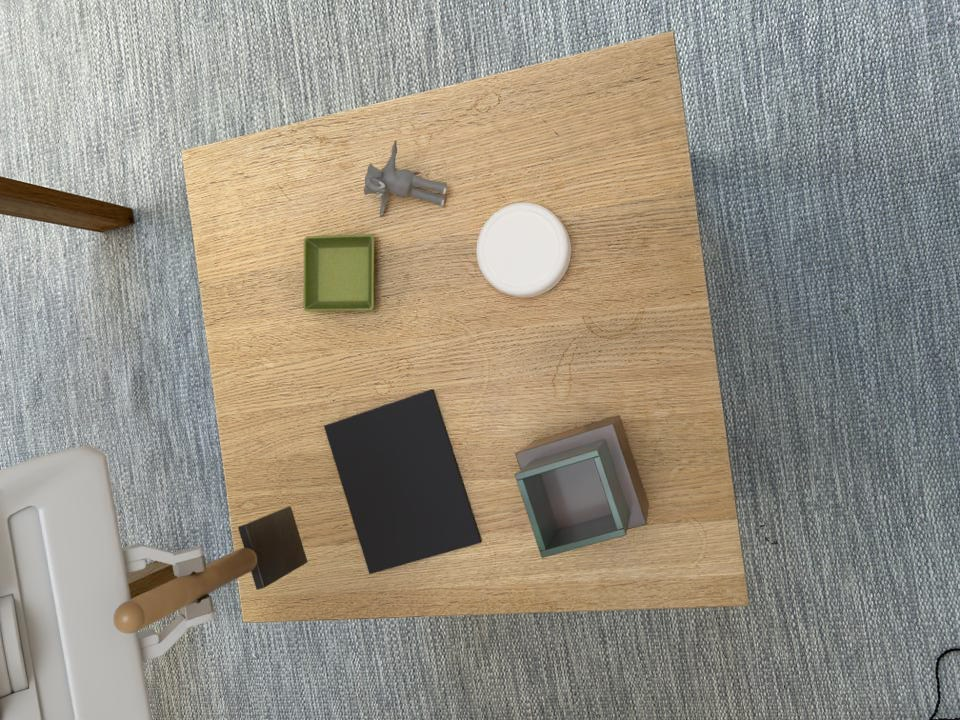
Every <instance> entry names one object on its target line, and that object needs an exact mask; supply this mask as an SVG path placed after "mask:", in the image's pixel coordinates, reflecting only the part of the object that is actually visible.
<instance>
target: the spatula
mask: <svg viewBox="0 0 960 720" xmlns="http://www.w3.org/2000/svg"><path fill="white" fill-rule="evenodd" d="M237 529H238V533H239V536H240V539H241V543H242V545H243V547H241V548H239V549H236V550H234V551H232V552H230V553H228V554H226V555H223V556H221V557H219V558H216V559H215V560H212V561H210V562H208V563H205V564H206V570H205V571H202V572H199V573H195V572H192V573H191V574H190V575H189V576H184V577H176V578H173V579H171V580H169V581H167V582H165V583H163V584H160V585H157V586H156V587H154V588H152V589H150V590H148V591H145V592H143V593H141V594H139V595H137V596H134V597H131V599H130V600H128V601H126V602H124V603H122V604H121V605H120V606H119V607H118V608H117V609H116V611H115V613H114V617H113V622H114V625H115V627H116V628H117V629H118V630H119V631H120V632H122V633H126V634H131V633H135V632H140V631H142V630H143V629H145V628H147V627H149V626H151V625H152V624H154V623H156V622H158V621H160V620H162V619H164V618H166V617H167V616H170V615H171V614H173V613H175V612H177V611H179V610H180V609H181V608H183V607H185V606H186V605H188V604H190V603H192V602H194V601H196V600H198V599H200V598H202V597H203V596H205V595H207V594H209V595H210V594H211V593H213V592H215V591H216V590H219V589H221V588H223V587H224V586H226V585H228V584H230V583H232V582H234V581H236V580H238V579H240V578H241V577H243V576H245V575H248V574H249V573H251V575H252V579H253V583H254V586H255V590H256V591H259V590H262V589H265V588H267V587H269V586H270V585H272V584H274V583H275V582H277V581H278V580H281V579H282V578H284V577H286V576H287V575H289V574H291V573H292V572H294V571H296V570H298V569H299V568H301V567H303V566H304V565H306V564H308V563H309V561H308V558H307V555H306V552H305V548H304V545H303V541H302V538H301V535H300V532H299V528H298V525H297V522H296V519H295V514H294V512H293V509H292V506H291V505H288V506H286V507H283V508H280V509H278V510H275V511H273V512H270V513H268V514H265V515H263V516H261V517H258V518H255V519H253V520H251V521H249V522H246V523H244V524H241V525H239V526H238V527H237Z"/></svg>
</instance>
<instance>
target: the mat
mask: <svg viewBox="0 0 960 720" xmlns="http://www.w3.org/2000/svg"><path fill="white" fill-rule="evenodd" d="M323 428H324V431H325V434H326V438H327V441H328V445H329V448H330V451H331V454H332V457H333V460H334V463H335V467H336V470H337V473H338V476H339V480H340V483H341V486H342V489H343V490H342V491H343V492H344V495H345V500H346V503H347V506H348V510H349V513H350V516H351V518H352V522H353V526H354V528H355V529H354V530H355V532H356V536H357V539H358V542H359V545H360V548H361V551H362V555H363V559H364V562H365V564H366V568H367V571H368V574H369V575H372V574H375V573H378V572H382V571H386V570H389V569H393V568H396V567H400V566H404V565H408V564H411V563H415V562H418V561H421V560H425V559H428V558H432V557H435V556H439V555H443V554H446V553H450V552H453V551H457V550H461V549H464V548H467V547H471V546H474V545H478V544H481V543H482V542H483V540H482V537H481V534H480V531H479V528H478V525H477V521H476V518H475V515H474V512H473V509H472V507H471V506H472V505H471V502H470V499H469V497H468V493H467V490H466V487H465V484H464V481H463V477H462V474H461V472H460V468H459V466H458V465H459V464H458V462H457V459H456V455H455V453H454V450H453V446H452V443H451V440H450V437H449V433H448V431H447V428H446V424H445V421H444V418H443V414H442V412H441V409H440V406H439V403H438V399H437V396H436V393H435V390H434V389H433V388H432V389H429V390H426V391H422V392H420V393H416V394H414V395H411V396H408V397H406V398H402V399H400V400H396V401H393V402H389V403H388V404H385V405H381V406H379V407H376V408H372V409H369V410H367V411H364V412H360V413H358V414H355V415H352V416H348V417H346V418H343V419H339V420H337V421H334V422H331V423H327V424H324V425H323Z"/></svg>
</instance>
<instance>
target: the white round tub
mask: <svg viewBox="0 0 960 720" xmlns="http://www.w3.org/2000/svg"><path fill="white" fill-rule="evenodd" d="M475 248H476V249H475V250H476V251H475V253H476V254H475V255H476V261H477V265H478V268H479V270H480V272H481V275H483V277H484V279H485V280H486V281H487V282H488V284H489V285H491V286H492V287H493V288H494V289H496V290H497V291H499V292H501V293H503V294H506V295H507V296H511V297H515V298H520V299H528V298H534V297H538V296H541V295H544V294H546V293H548V292H549V291H550V290H552V289H554V287H556V286H557V285H558V284H559V283H560V282H561V280H562V279H563V277H564V276H565V274H566V273H567V271H568V268H569V265H570V262H571V257H572V244H571V238H570V235H569V232H568V230H567V229H566V227H565V225H564V224H563V223H562V222H561V220H560V218H559V217H558V216H557V215H555V213H553V212H552V211H551V210H550V209H548V208H546V207H544V206H543V205H541V204H538V203H534V202H530V201H529V202H525V201H523V202H521V201H520V202H514V203H510V204H508V205H505V206H503V207H501V208H500V209H498V210H496V211H495V212H494V213H493V214H492V215H491V216H489V217H488V219H487V220H486V222H485V223H484V224H483V226H482V228H481V230H480V231H479V233H478V237H477V241H476V247H475Z"/></svg>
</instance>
